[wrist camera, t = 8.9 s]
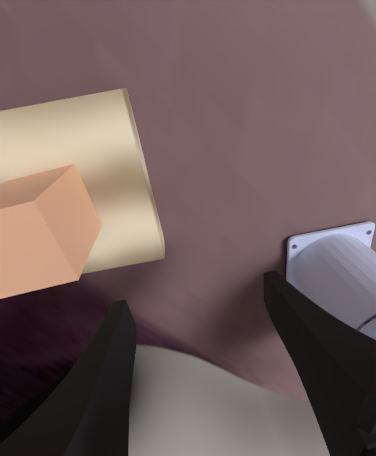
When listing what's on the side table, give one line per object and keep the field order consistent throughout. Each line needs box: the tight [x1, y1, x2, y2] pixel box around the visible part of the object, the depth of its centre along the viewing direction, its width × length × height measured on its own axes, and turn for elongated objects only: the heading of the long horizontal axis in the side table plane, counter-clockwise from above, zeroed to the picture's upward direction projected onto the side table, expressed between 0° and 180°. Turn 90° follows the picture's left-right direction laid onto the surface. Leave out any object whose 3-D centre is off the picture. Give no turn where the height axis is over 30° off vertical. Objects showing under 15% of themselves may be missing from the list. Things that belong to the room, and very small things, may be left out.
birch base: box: [0, 88, 165, 274], centre depth 19 cm, size 12×12×3 cm
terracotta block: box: [0, 164, 102, 299], centre depth 15 cm, size 4×4×6 cm
